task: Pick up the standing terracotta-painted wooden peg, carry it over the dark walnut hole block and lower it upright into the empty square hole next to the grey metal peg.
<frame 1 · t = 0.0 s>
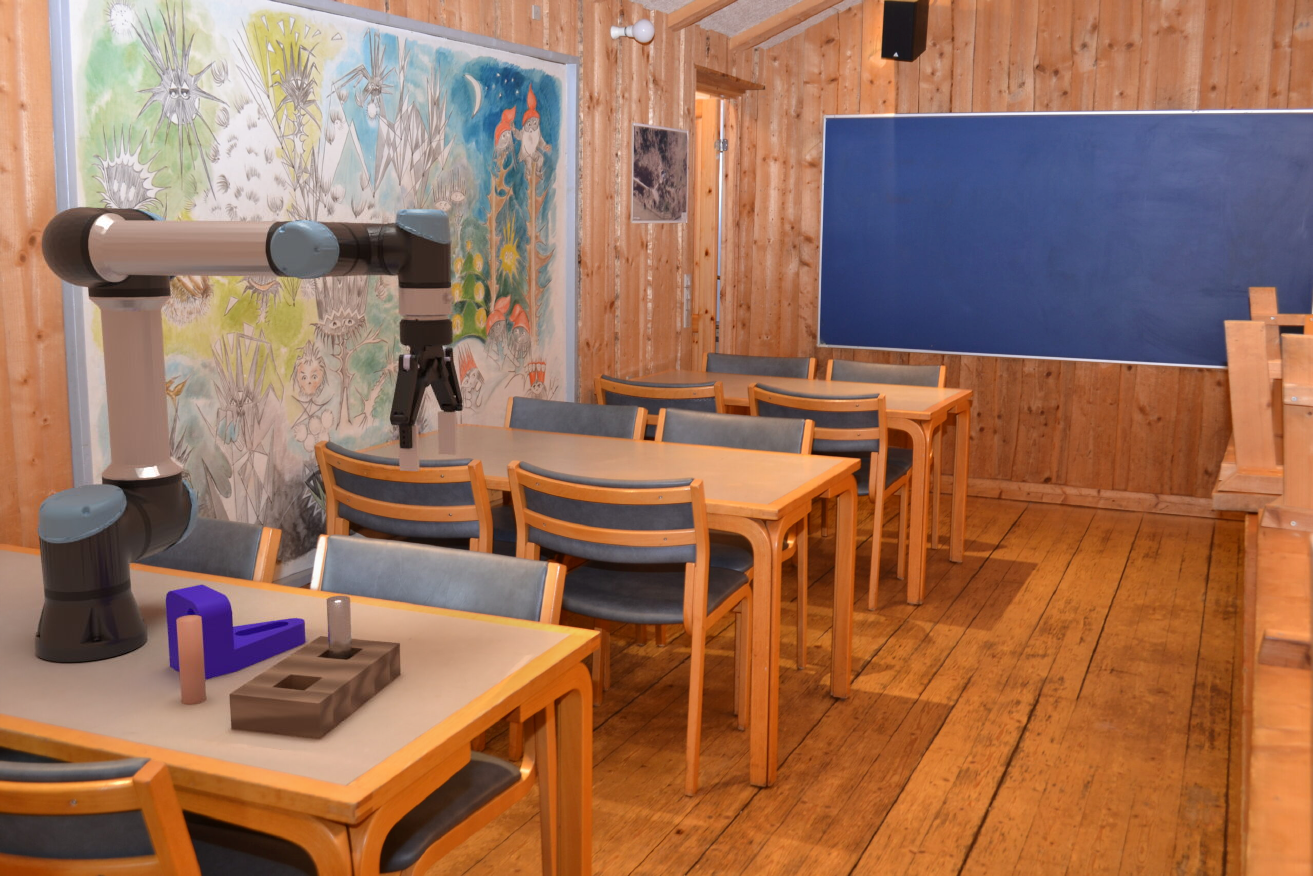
hand: (429, 462, 172), 28 cm above the table, fingers open, 13 cm apart
peg: (194, 707, 152), on the table
bracket: (247, 663, 169), on the table
hole block: (321, 707, 152), on the table
grey peg: (341, 684, 157), point 1 cm above the table, touching hole block
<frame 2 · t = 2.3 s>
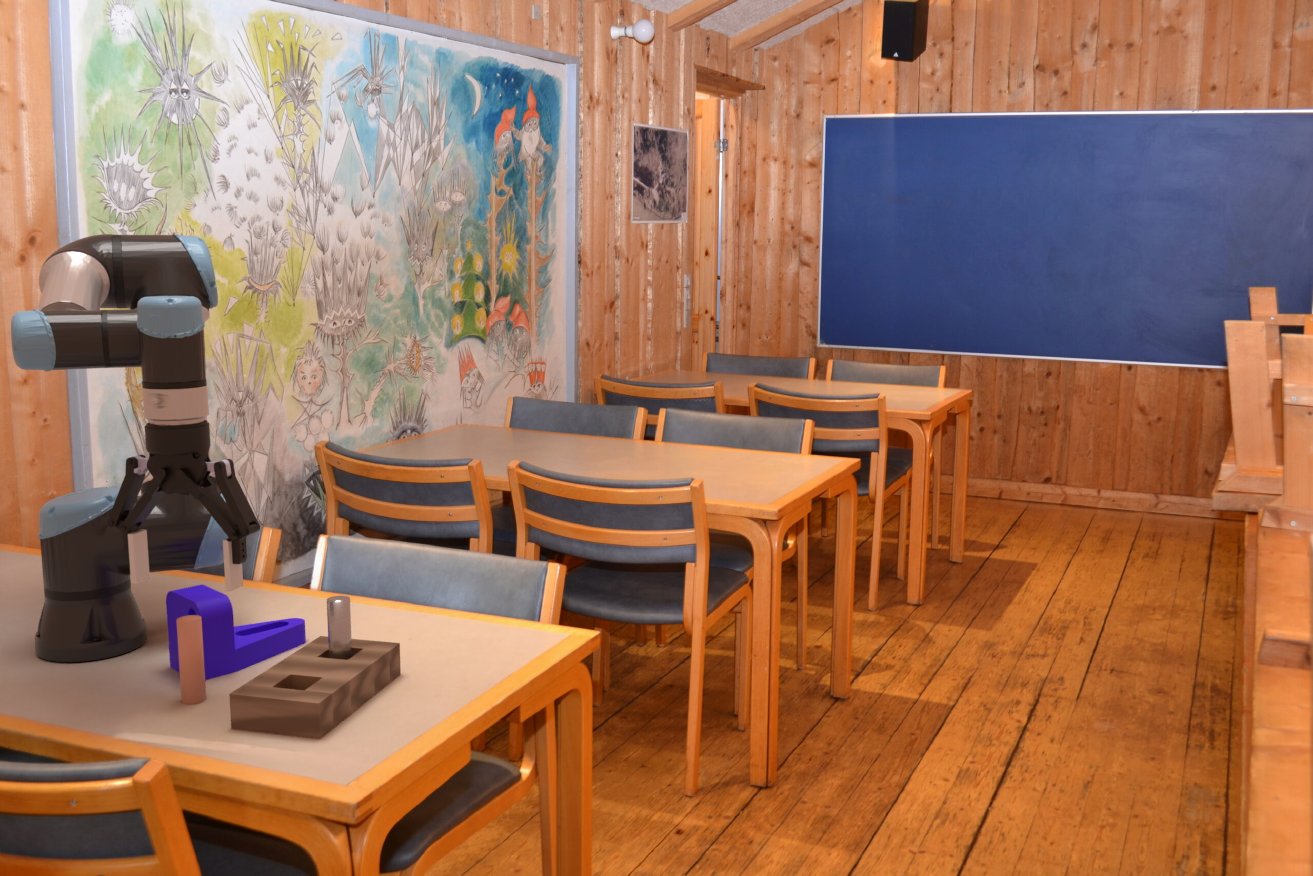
hand: (187, 585, 149), 17 cm above the table, fingers open, 13 cm apart
nothing on the table moved.
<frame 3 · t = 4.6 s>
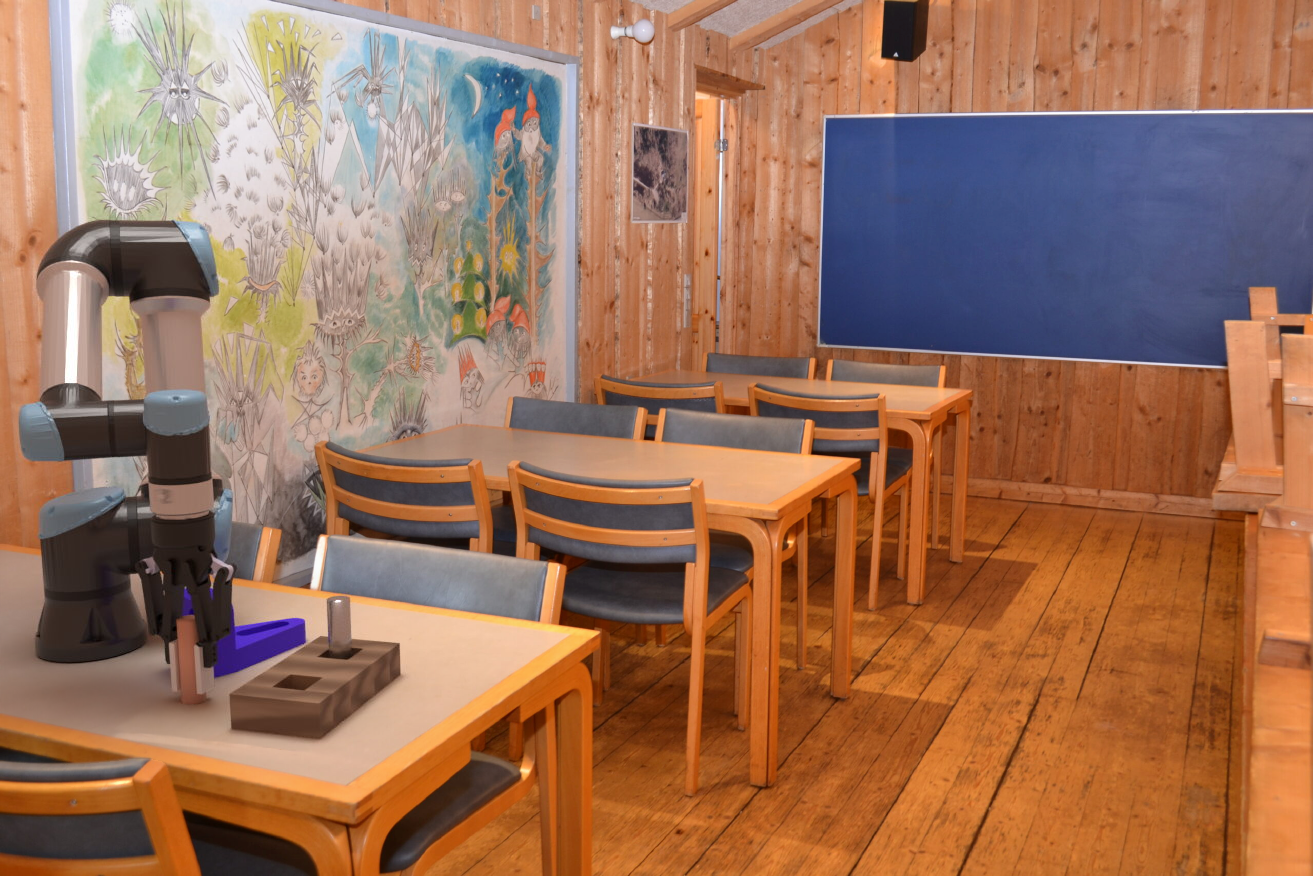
hand: (193, 688, 151), 3 cm above the table, fingers closed on peg, 3 cm apart
peg: (194, 707, 152), on the table, touching gripper
everything else where it was.
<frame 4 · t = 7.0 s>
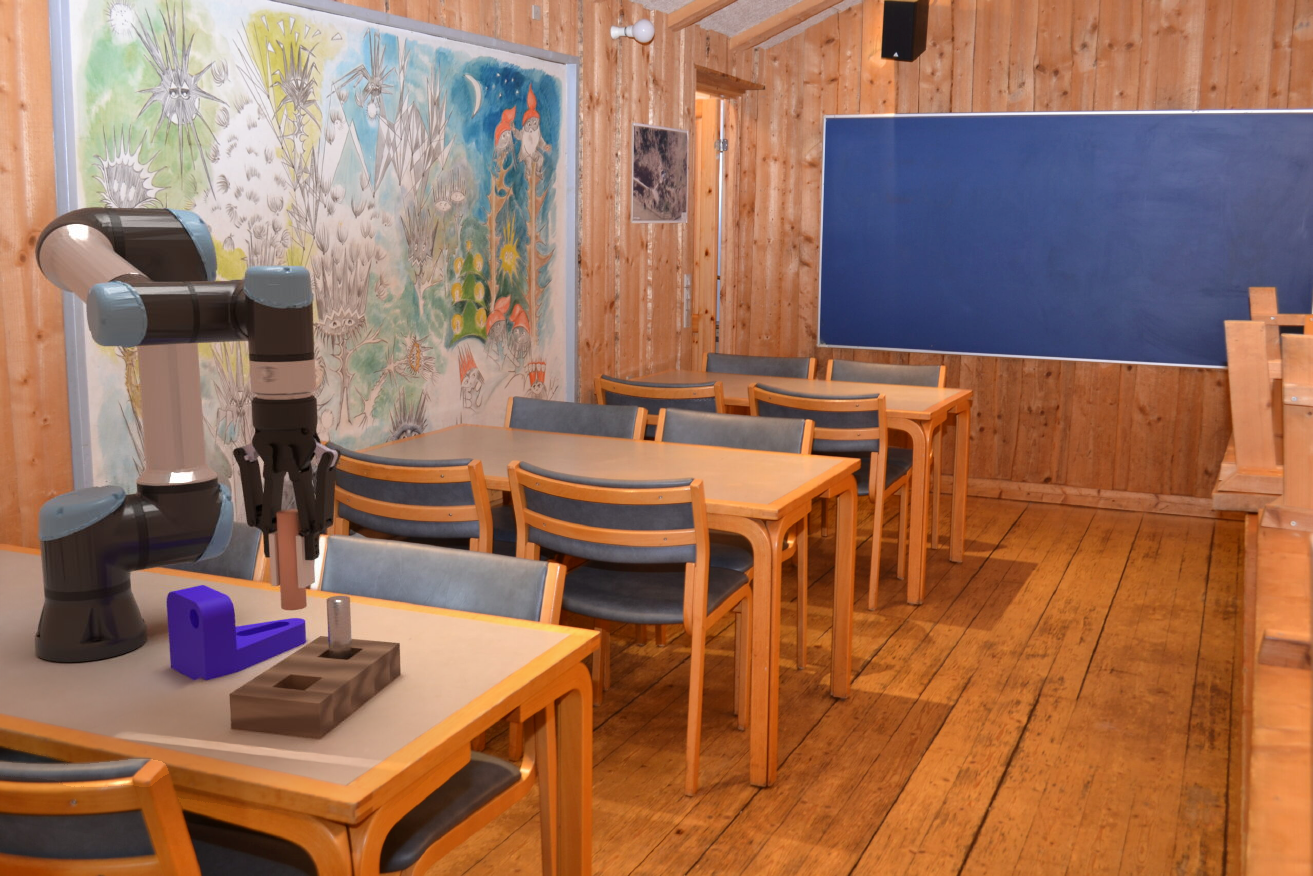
hand: (293, 583, 144), 18 cm above the table, fingers closed on peg, 3 cm apart
peg: (294, 606, 144), point 15 cm above the table, touching gripper
everything else where it was.
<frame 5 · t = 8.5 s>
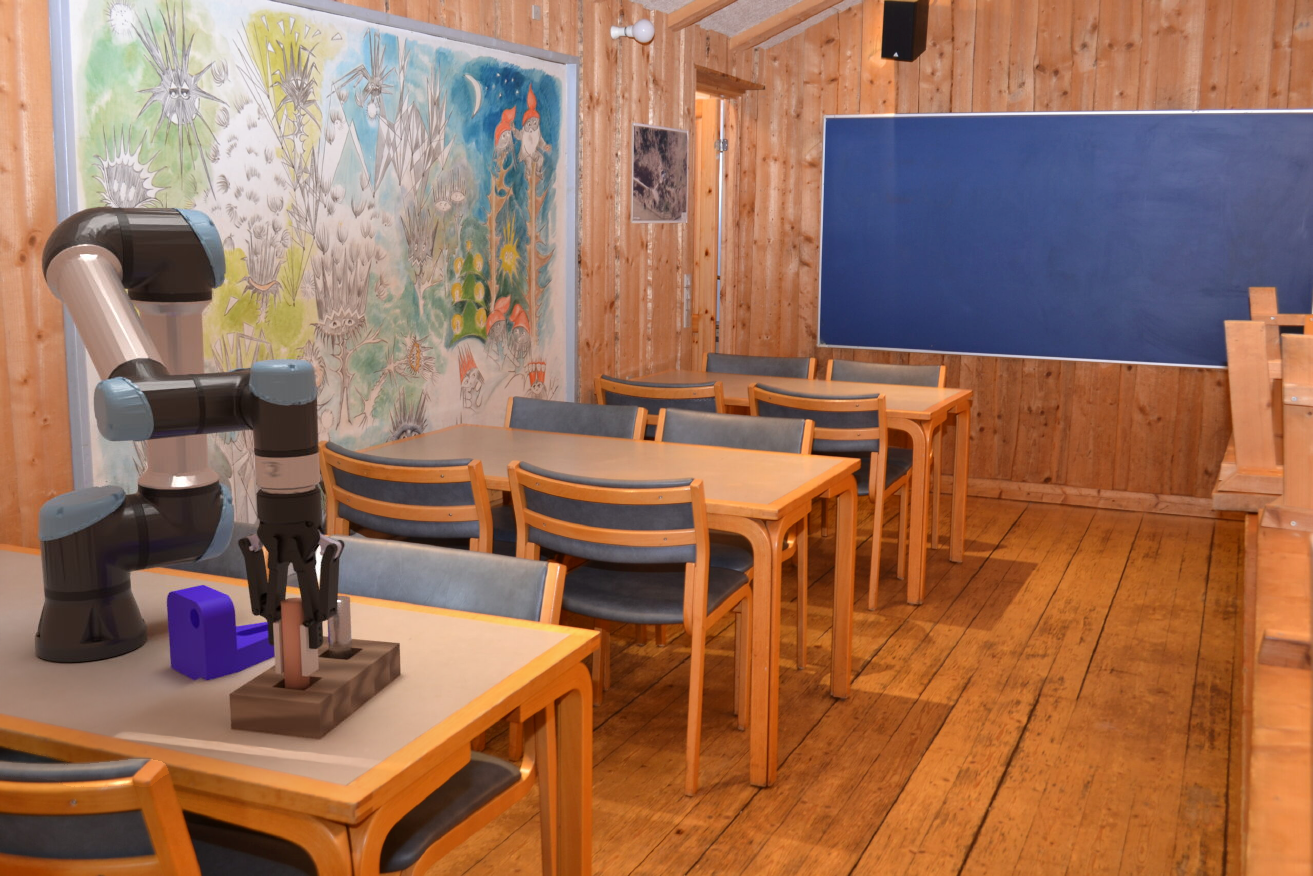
hand: (297, 670, 146), 7 cm above the table, fingers closed on peg, 3 cm apart
peg: (297, 693, 146), point 4 cm above the table, touching gripper
everything else where it was.
when the fingers open (7 cm above the table, at t = 9.5 s): peg drops 2 cm, resting on hole block.
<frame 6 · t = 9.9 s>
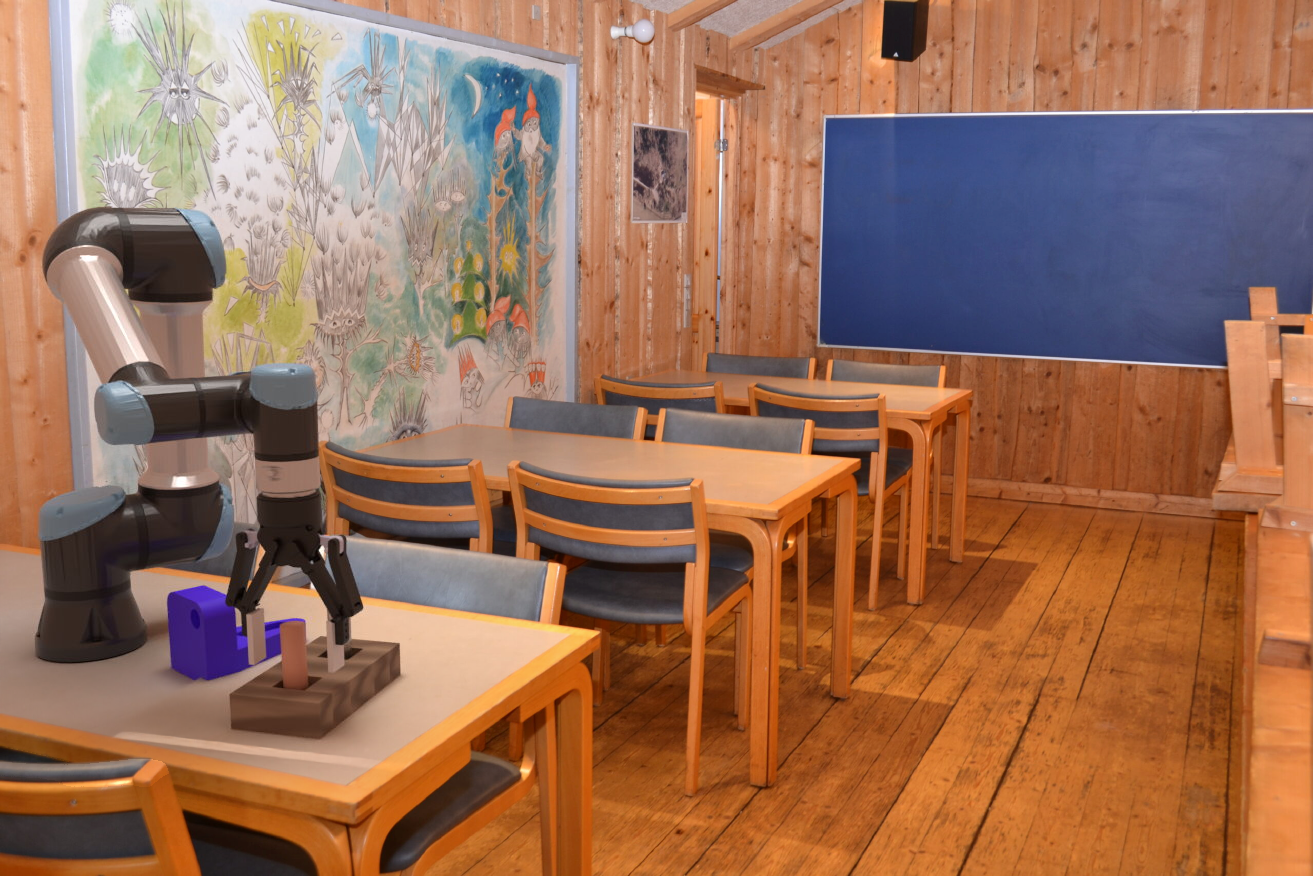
hand: (296, 664, 145), 8 cm above the table, fingers open, 10 cm apart
peg: (297, 716, 147), point 1 cm above the table, touching hole block
everything else where it was.
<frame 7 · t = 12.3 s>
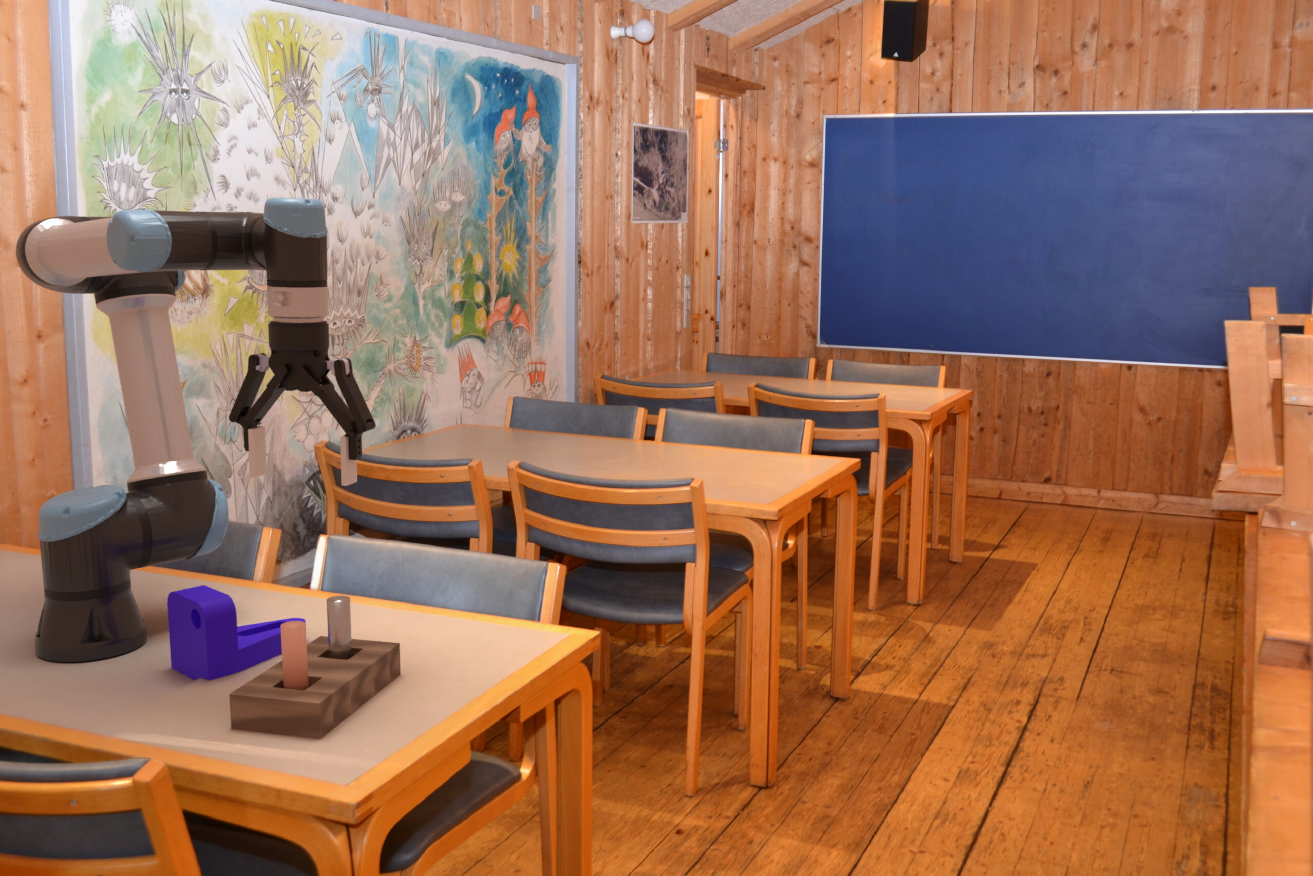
hand: (303, 479, 154), 29 cm above the table, fingers open, 13 cm apart
nothing on the table moved.
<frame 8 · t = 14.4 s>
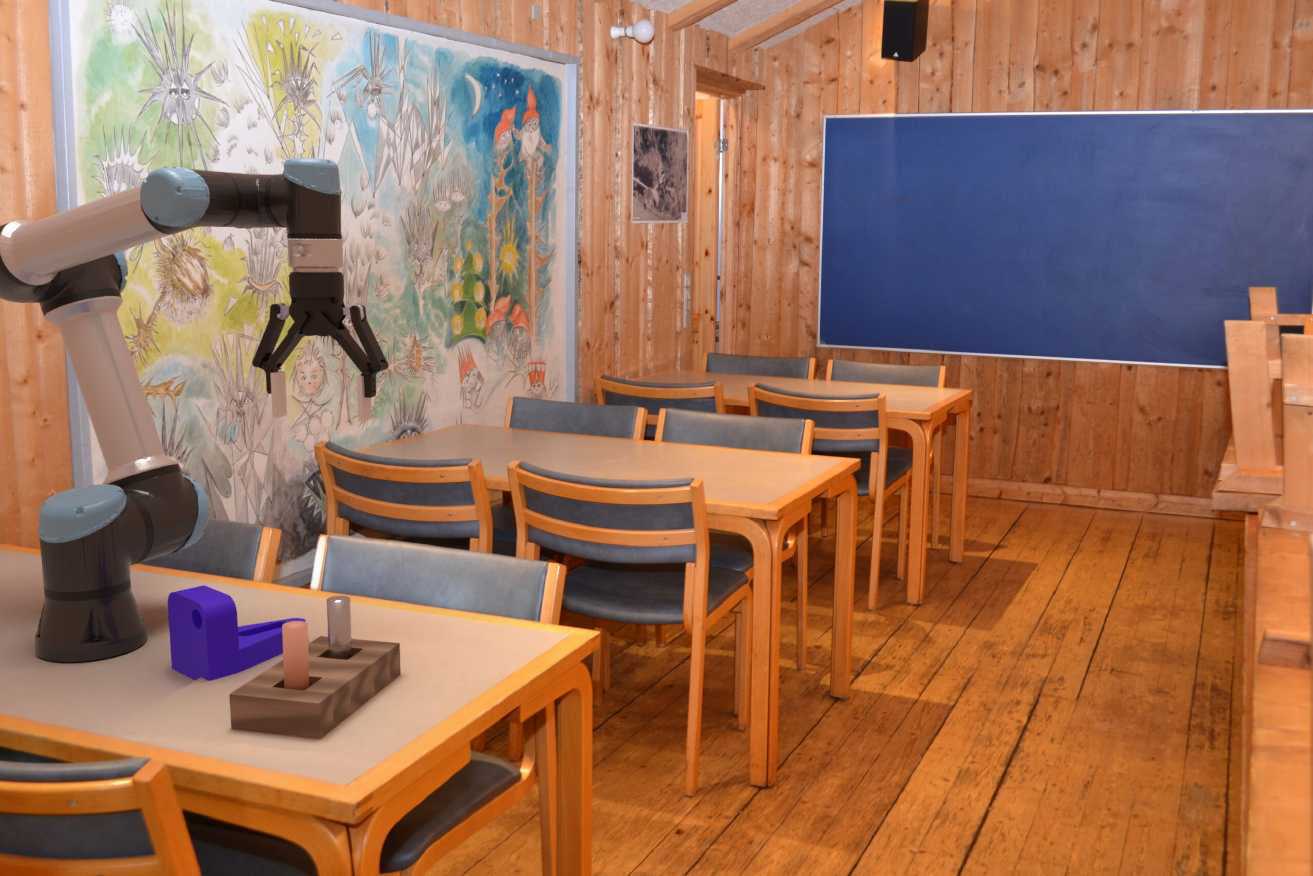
hand: (322, 418, 169), 35 cm above the table, fingers open, 13 cm apart
nothing on the table moved.
at the end: peg 0.2 cm from the target spot on the hole block, point 1.0 cm above the hole block's base; peg tilted 1° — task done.
